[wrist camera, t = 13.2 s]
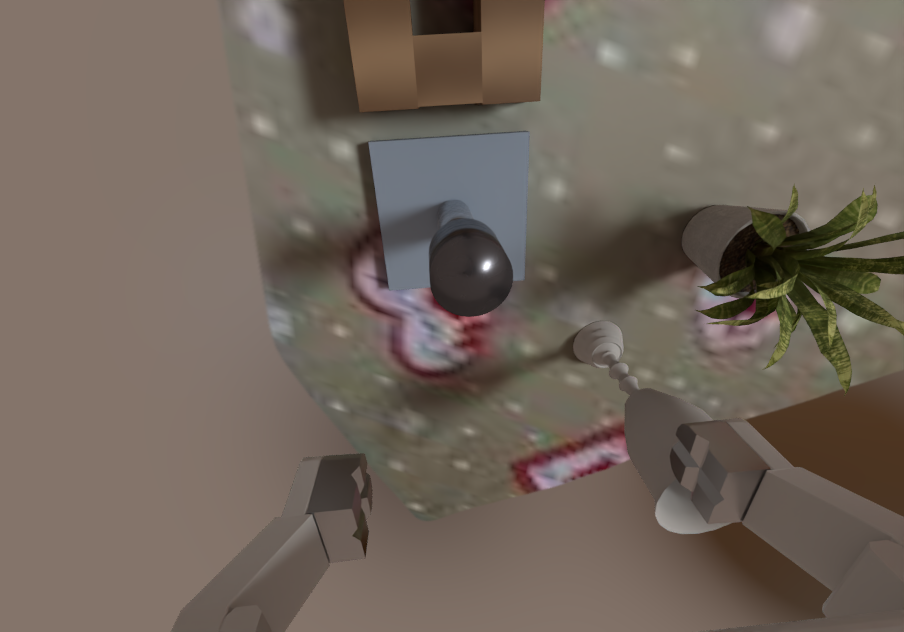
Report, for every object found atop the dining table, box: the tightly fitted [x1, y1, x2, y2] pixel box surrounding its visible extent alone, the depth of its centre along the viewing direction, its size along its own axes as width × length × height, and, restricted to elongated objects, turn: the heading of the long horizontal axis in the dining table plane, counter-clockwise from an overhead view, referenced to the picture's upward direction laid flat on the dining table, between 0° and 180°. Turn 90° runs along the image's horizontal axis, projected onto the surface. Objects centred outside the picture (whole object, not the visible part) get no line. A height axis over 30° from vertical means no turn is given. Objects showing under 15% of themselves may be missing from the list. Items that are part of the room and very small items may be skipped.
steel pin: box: [429, 200, 513, 317], centre depth 27 cm, size 4×4×13 cm
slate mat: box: [368, 131, 529, 291], centre depth 33 cm, size 12×12×1 cm
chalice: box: [573, 321, 730, 534], centre depth 32 cm, size 7×7×18 cm
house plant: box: [682, 184, 904, 396], centre depth 28 cm, size 14×14×16 cm
